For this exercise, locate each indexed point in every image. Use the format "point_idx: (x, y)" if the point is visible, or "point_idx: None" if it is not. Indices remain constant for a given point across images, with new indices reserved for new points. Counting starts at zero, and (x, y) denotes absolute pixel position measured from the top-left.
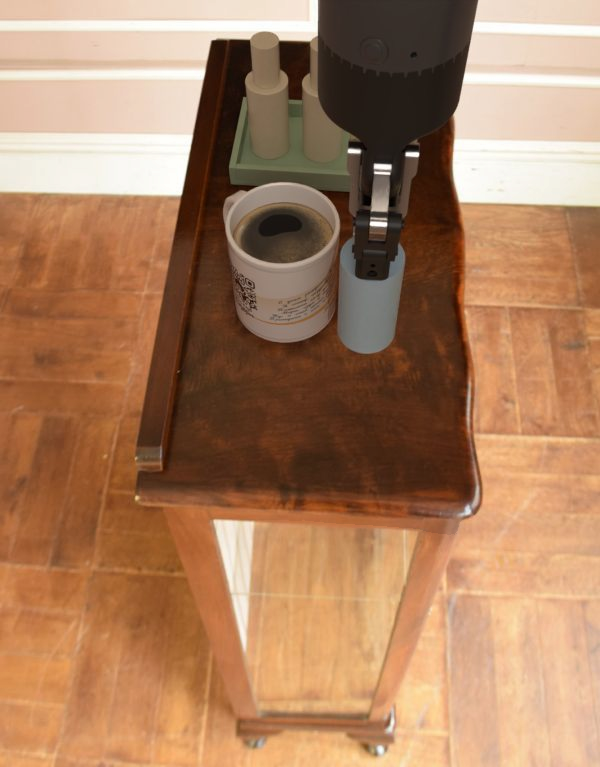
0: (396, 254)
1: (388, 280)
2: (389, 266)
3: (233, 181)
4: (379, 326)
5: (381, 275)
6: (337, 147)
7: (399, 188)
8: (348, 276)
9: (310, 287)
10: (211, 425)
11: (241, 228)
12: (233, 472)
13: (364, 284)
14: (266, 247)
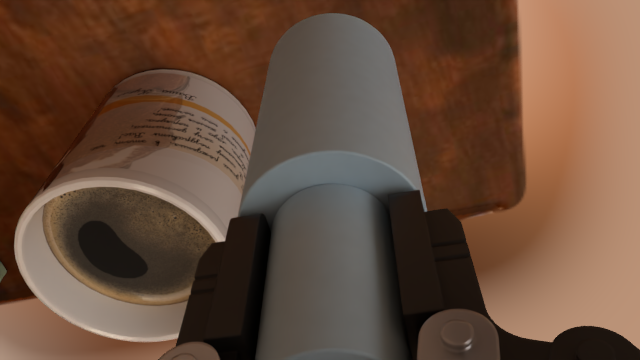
0: (612, 353)
1: (406, 175)
2: (425, 223)
3: (2, 272)
4: (394, 83)
5: (464, 234)
6: None
7: (194, 358)
8: None
9: (207, 163)
10: (422, 174)
11: (148, 298)
12: (491, 127)
13: None
14: (169, 257)
